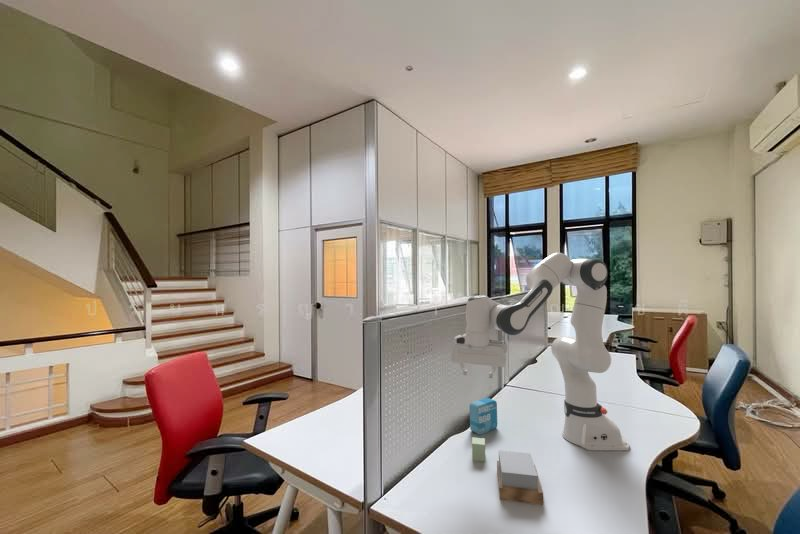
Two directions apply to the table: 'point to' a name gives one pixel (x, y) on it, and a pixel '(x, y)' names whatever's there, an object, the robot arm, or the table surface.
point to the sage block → (478, 449)
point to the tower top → (517, 470)
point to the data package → (483, 415)
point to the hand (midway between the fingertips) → (478, 376)
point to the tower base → (520, 492)
